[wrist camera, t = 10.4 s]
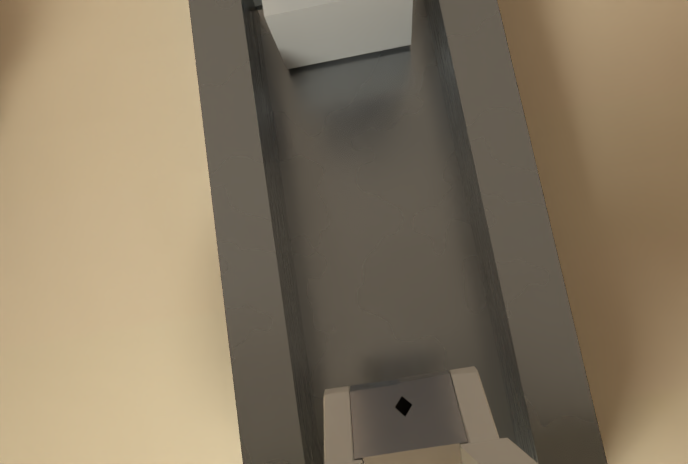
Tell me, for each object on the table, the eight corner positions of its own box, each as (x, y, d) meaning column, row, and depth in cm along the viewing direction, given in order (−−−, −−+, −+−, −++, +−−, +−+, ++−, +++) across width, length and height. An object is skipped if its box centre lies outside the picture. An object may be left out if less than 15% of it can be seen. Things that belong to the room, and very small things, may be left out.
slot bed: (291, 557, 16) (261, 620, 13) (223, 35, 19) (185, -29, 16) (581, 518, 15) (633, 571, 12) (461, -14, 19) (475, -92, 15)
